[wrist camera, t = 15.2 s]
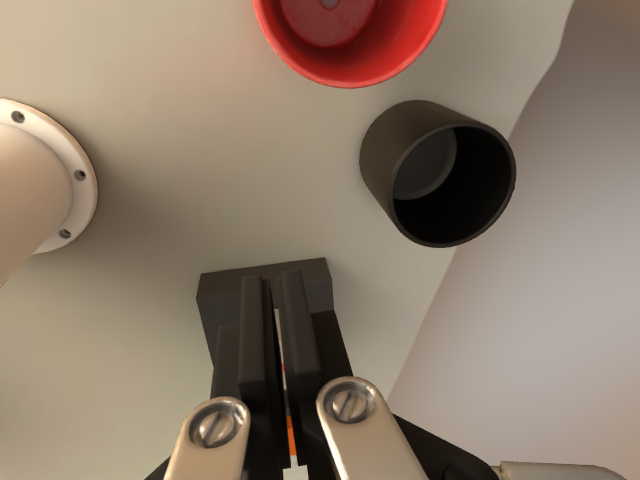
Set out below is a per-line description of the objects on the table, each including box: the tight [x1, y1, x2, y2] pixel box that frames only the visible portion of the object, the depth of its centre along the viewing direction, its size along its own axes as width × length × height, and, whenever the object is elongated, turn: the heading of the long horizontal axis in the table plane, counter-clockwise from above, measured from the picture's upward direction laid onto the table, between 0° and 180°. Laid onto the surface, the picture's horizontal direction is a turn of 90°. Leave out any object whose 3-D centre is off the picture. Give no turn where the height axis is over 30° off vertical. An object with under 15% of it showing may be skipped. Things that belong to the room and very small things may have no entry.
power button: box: [287, 415, 296, 455], centre depth 45 cm, size 4×4×2 cm
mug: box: [359, 100, 516, 248], centre depth 33 cm, size 9×12×9 cm
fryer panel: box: [196, 258, 334, 367], centre depth 40 cm, size 12×10×4 cm
